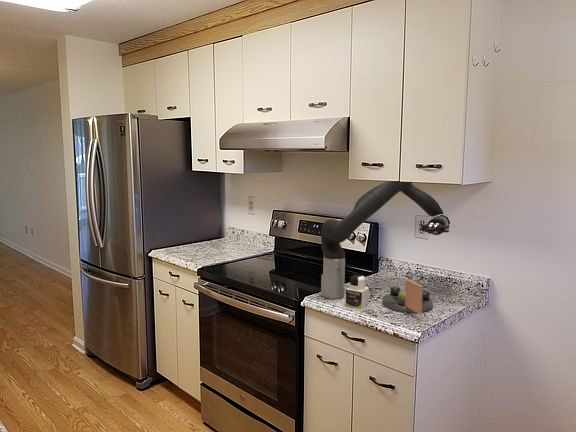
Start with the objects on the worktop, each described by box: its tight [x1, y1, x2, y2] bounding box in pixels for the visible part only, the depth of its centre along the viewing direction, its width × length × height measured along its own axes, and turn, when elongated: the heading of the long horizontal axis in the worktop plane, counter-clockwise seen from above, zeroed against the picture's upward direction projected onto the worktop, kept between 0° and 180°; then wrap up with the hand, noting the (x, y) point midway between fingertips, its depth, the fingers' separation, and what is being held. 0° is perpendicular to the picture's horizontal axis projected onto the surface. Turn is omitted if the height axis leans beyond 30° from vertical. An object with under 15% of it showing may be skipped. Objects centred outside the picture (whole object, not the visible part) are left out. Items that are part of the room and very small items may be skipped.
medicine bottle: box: [345, 274, 370, 309], centre depth 189 cm, size 7×7×12 cm
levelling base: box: [381, 286, 434, 314], centre depth 189 cm, size 20×20×5 cm
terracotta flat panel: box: [398, 278, 424, 315], centre depth 178 cm, size 14×4×11 cm, turn 18°
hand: (429, 231), depth 190 cm, fingers closed
